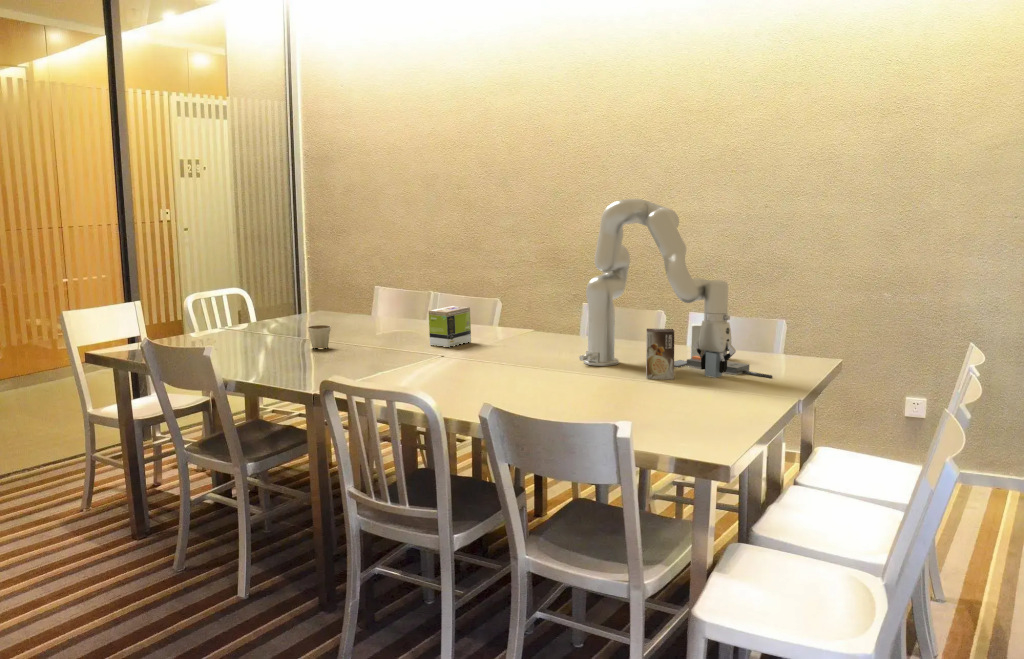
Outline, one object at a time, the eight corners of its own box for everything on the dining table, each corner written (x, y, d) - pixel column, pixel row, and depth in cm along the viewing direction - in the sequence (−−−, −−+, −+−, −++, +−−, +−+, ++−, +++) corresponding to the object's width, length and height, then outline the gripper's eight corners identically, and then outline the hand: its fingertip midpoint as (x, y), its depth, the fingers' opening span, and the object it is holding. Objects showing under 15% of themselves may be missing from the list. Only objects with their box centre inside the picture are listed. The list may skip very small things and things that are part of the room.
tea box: (452, 340, 351) (452, 305, 349) (471, 342, 345) (471, 307, 343) (428, 345, 339) (427, 309, 337) (448, 348, 333) (447, 311, 331)
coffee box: (673, 375, 283) (674, 328, 281) (674, 380, 277) (675, 331, 274) (645, 375, 285) (646, 328, 282) (645, 379, 278) (646, 331, 276)
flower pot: (337, 347, 337) (336, 326, 335) (320, 351, 329) (319, 329, 327) (320, 345, 342) (319, 324, 340) (303, 349, 334) (302, 327, 332)
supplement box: (711, 360, 308) (712, 326, 306) (690, 359, 309) (691, 325, 307) (710, 356, 315) (711, 322, 313) (690, 355, 317) (691, 322, 314)
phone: (677, 369, 296) (677, 366, 296) (663, 366, 300) (663, 363, 300) (693, 364, 303) (694, 361, 303) (679, 362, 307) (680, 359, 307)
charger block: (715, 377, 280) (716, 353, 279) (705, 375, 283) (705, 351, 282) (722, 375, 283) (722, 351, 282) (711, 373, 286) (712, 350, 285)
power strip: (765, 380, 276) (766, 371, 275) (686, 366, 298) (686, 357, 297) (778, 376, 281) (778, 367, 281) (699, 362, 303) (699, 354, 303)
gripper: (744, 319, 276) (742, 372, 279) (699, 313, 289) (698, 365, 292) (732, 321, 271) (730, 376, 274) (687, 316, 283) (685, 368, 286)
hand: (713, 370), depth 283 cm, fingers open, 6 cm apart
